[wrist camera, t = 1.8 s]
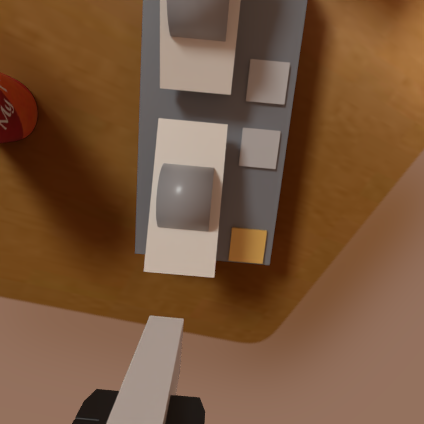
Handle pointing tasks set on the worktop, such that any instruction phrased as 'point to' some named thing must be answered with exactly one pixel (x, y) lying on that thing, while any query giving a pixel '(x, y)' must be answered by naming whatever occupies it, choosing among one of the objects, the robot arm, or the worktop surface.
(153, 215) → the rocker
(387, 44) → the worktop surface
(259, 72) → the console
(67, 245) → the worktop surface
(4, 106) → the coffee cup
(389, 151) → the worktop surface
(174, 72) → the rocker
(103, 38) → the worktop surface
